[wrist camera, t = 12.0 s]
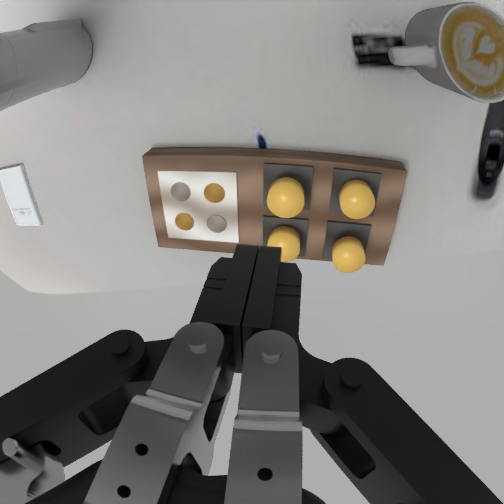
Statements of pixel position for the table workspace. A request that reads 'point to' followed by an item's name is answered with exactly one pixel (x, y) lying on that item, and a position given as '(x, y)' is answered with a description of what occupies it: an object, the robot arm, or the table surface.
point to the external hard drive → (20, 196)
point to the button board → (255, 198)
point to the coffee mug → (457, 49)
